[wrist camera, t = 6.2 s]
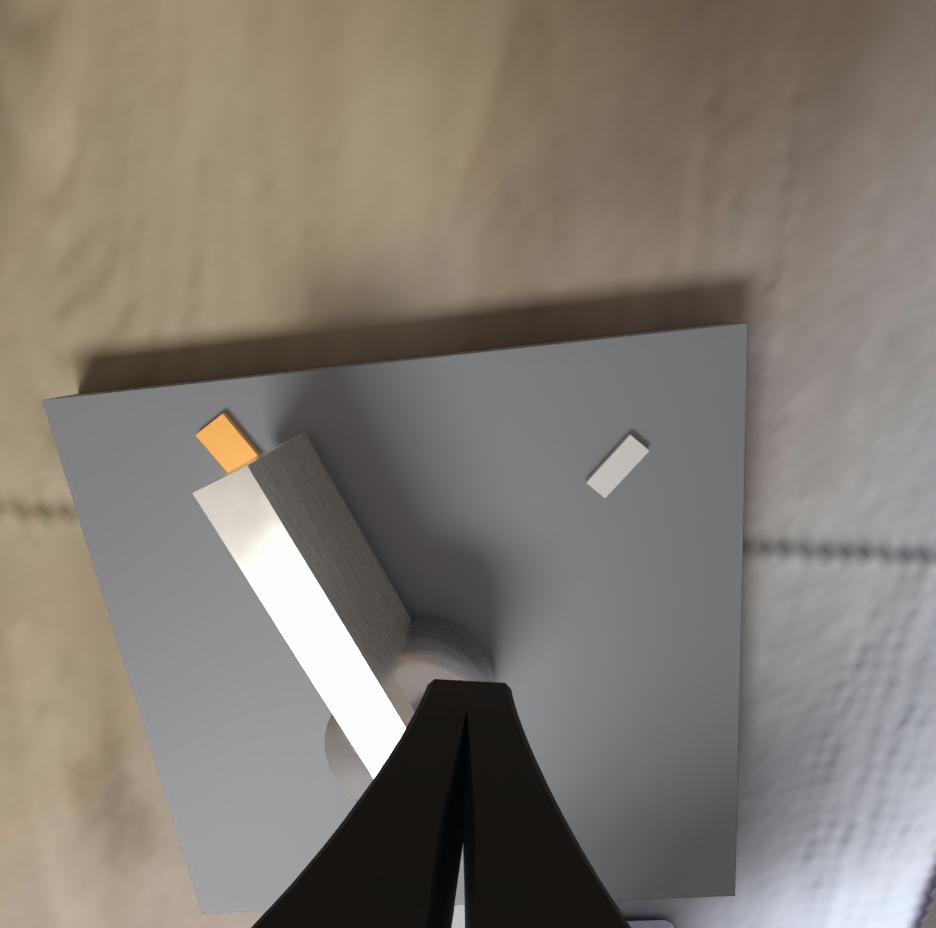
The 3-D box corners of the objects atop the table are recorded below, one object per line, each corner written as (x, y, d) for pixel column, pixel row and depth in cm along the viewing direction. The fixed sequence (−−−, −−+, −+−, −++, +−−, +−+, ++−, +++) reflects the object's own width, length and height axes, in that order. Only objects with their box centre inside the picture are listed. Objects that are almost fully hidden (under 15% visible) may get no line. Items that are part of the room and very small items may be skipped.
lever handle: (517, 711, 19) (523, 814, 15) (393, 757, 20) (368, 866, 16) (352, 407, 16) (308, 435, 13) (217, 474, 17) (136, 520, 13)
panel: (719, 859, 23) (737, 901, 21) (219, 878, 24) (199, 918, 23) (726, 322, 17) (750, 323, 16) (76, 394, 19) (36, 401, 17)
